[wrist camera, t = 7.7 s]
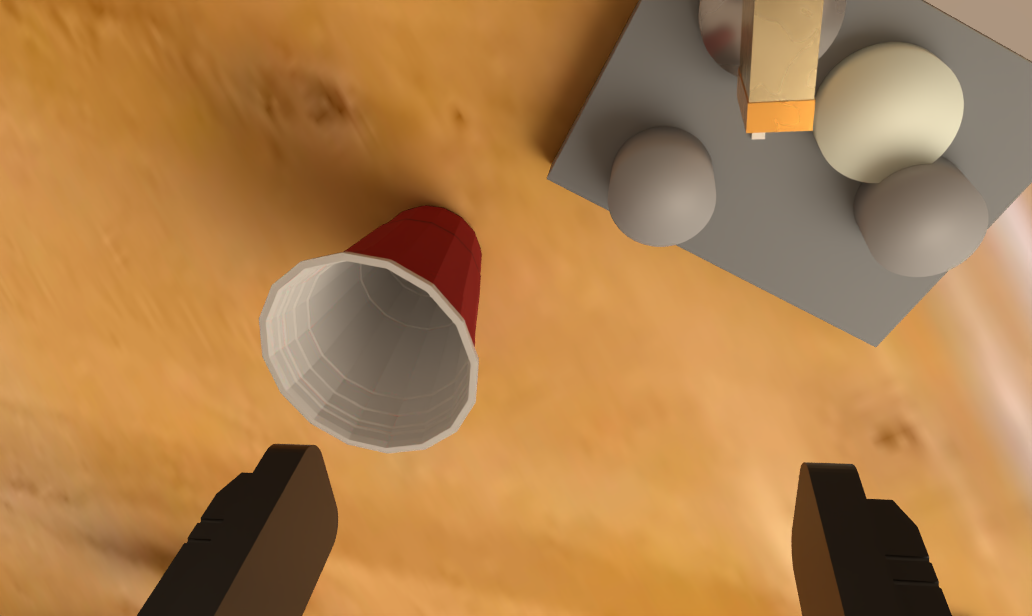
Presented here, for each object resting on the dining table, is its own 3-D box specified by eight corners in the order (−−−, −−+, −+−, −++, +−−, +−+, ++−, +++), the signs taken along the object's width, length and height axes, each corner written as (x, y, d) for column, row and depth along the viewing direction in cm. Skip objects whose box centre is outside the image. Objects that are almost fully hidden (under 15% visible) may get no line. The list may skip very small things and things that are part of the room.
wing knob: (700, -76, 33) (706, -59, 27) (851, -90, 31) (887, -75, 26) (696, 92, 36) (701, 135, 31) (832, 85, 35) (860, 128, 30)
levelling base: (551, 164, 42) (538, 202, 37) (704, -124, 34) (709, -117, 29) (867, 327, 43) (889, 380, 39) (1084, 91, 35) (1140, 126, 31)
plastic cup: (406, 119, 42) (323, 212, 32) (560, 242, 44) (527, 365, 34) (310, 250, 47) (212, 365, 37) (451, 354, 49) (395, 488, 39)
